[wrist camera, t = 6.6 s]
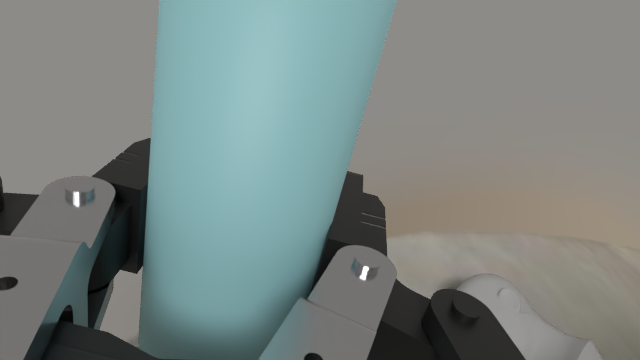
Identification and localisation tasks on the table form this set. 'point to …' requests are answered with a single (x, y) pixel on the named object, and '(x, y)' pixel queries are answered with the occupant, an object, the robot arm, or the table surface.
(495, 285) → the pale two-lobed sculpture
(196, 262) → the peg
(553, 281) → the table surface
